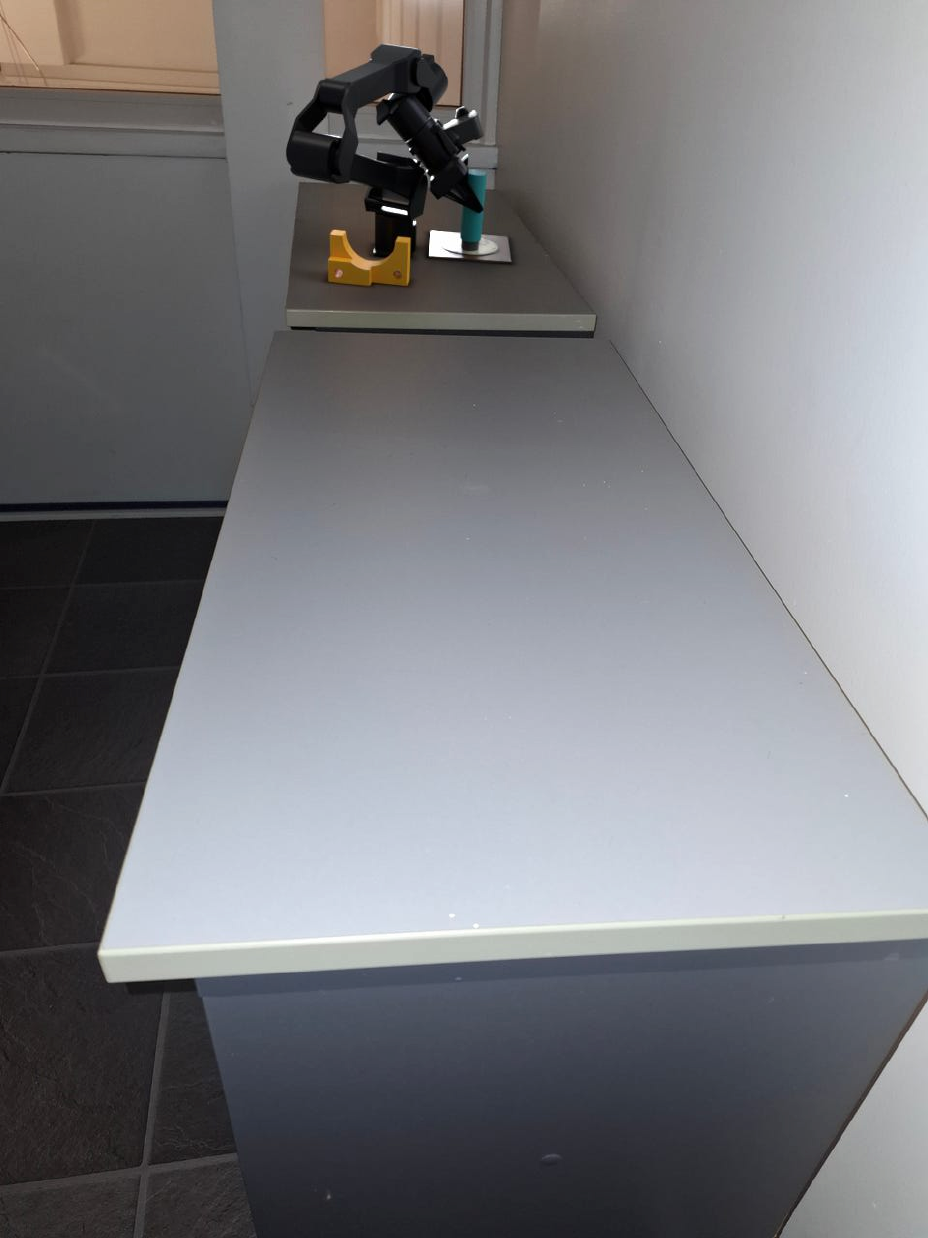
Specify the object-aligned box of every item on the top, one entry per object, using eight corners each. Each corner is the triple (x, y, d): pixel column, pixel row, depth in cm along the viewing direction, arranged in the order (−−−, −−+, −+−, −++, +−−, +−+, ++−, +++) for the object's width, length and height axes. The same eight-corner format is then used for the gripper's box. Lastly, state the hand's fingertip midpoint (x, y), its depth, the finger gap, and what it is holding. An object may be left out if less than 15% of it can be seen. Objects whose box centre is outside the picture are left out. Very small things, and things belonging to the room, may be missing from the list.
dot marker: (470, 252, 146) (477, 176, 138) (455, 247, 148) (460, 171, 140) (484, 249, 148) (491, 173, 141) (468, 243, 150) (475, 168, 142)
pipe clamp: (328, 281, 132) (327, 237, 128) (334, 272, 136) (333, 229, 132) (405, 289, 132) (406, 246, 128) (409, 280, 135) (410, 237, 131)
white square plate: (428, 258, 144) (428, 254, 144) (430, 232, 155) (430, 229, 155) (511, 263, 145) (511, 260, 145) (507, 238, 156) (507, 235, 155)
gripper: (455, 101, 126) (522, 188, 133) (456, 80, 140) (516, 159, 148) (401, 156, 130) (468, 237, 138) (406, 130, 145) (467, 205, 152)
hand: (481, 208), depth 144 cm, fingers closed on dot marker, 3 cm apart
